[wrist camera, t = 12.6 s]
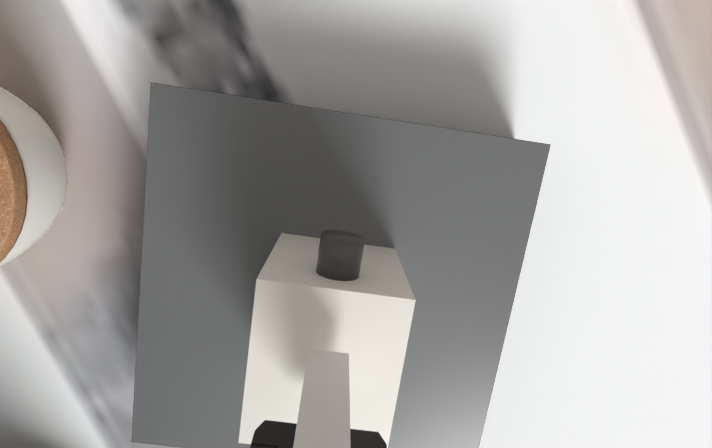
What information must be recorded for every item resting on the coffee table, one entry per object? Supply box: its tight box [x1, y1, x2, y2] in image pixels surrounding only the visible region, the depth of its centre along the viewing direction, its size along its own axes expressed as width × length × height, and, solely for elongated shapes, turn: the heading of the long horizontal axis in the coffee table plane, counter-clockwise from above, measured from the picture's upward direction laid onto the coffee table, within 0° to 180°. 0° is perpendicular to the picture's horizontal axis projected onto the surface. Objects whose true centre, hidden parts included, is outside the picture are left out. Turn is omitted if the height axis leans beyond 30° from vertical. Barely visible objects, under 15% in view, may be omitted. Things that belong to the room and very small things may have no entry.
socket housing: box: [132, 83, 550, 448], centre depth 28 cm, size 20×20×5 cm
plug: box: [238, 230, 416, 448], centre depth 23 cm, size 6×9×10 cm
